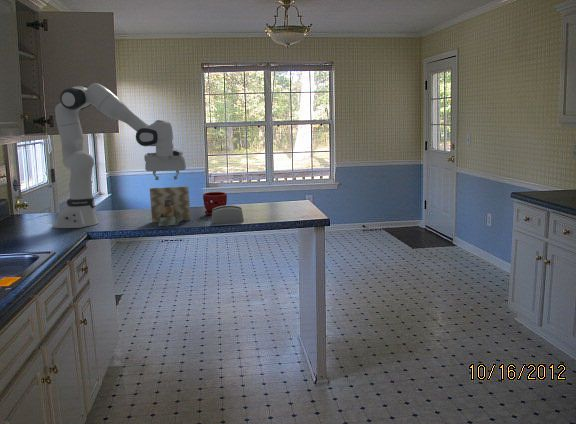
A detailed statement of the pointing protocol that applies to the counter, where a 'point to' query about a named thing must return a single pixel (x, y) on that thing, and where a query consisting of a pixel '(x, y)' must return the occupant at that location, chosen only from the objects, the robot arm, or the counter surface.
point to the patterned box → (178, 198)
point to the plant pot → (214, 201)
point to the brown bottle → (168, 208)
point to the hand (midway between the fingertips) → (166, 179)
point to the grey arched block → (227, 214)
